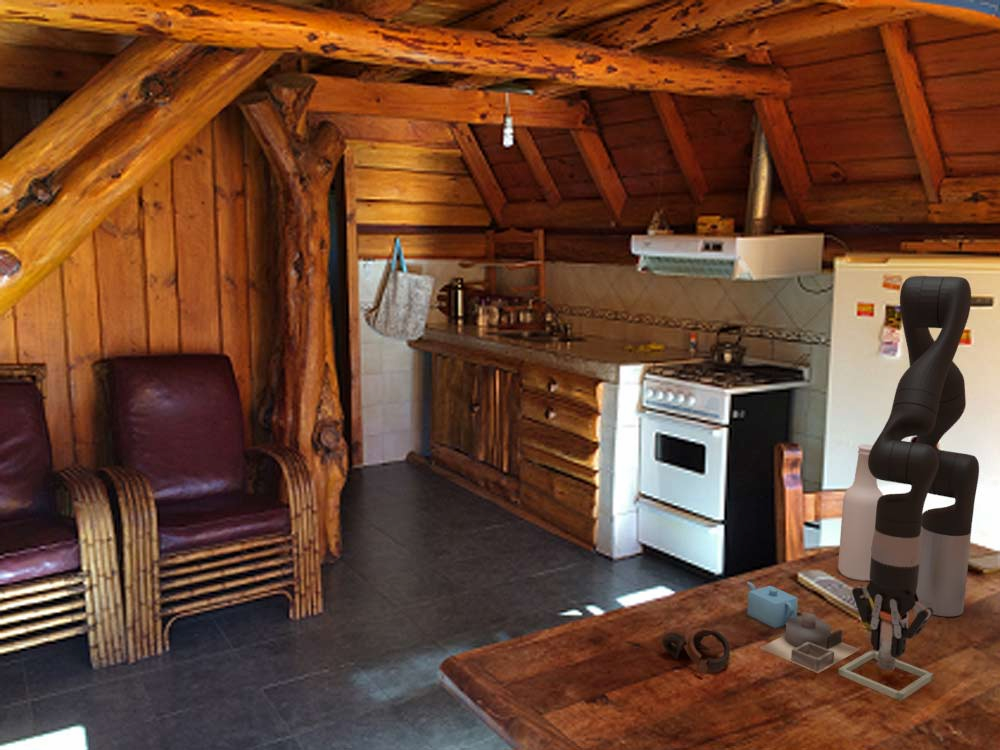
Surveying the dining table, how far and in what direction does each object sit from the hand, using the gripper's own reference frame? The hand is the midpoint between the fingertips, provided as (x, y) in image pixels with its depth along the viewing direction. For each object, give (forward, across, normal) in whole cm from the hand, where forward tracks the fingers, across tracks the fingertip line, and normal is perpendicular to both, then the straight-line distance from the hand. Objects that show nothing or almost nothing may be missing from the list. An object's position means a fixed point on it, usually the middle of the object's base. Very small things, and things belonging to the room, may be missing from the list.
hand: (887, 652), depth 154 cm
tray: (+6, 0, 0) cm, 6 cm away
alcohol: (+6, +29, -43) cm, 52 cm away
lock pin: (+3, 0, 0) cm, 3 cm away
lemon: (+6, +11, -17) cm, 21 cm away
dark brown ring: (+7, +25, +20) cm, 33 cm away
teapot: (+6, +27, -5) cm, 28 cm away
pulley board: (+6, +14, +1) cm, 15 cm away
